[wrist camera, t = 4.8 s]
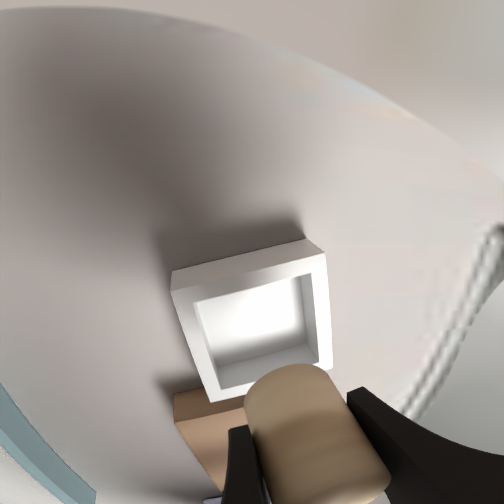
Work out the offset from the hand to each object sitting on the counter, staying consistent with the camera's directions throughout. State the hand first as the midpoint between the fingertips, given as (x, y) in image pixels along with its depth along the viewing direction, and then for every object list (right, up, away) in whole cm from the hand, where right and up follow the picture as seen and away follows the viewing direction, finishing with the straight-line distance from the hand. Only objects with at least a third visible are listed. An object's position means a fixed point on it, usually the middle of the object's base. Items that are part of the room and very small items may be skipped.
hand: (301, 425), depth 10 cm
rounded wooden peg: (0, 0, +1) cm, 2 cm away
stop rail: (-20, -10, +8) cm, 24 cm away
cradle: (-2, +3, +8) cm, 8 cm away
